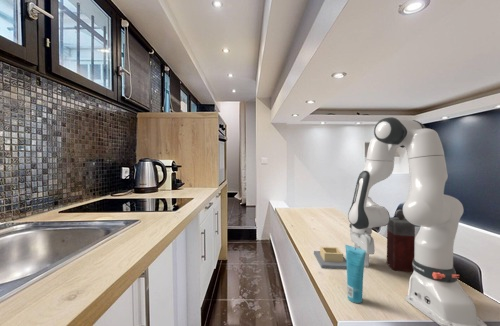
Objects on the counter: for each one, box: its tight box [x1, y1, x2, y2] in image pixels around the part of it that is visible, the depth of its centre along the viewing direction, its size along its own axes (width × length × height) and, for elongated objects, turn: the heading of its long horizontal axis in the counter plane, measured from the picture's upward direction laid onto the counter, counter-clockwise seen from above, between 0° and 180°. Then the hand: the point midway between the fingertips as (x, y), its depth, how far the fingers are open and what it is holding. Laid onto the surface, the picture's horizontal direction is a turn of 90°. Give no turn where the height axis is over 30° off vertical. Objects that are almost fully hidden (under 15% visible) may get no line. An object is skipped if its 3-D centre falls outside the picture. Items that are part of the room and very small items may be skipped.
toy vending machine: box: [386, 209, 416, 273], centre depth 114 cm, size 9×11×28 cm
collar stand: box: [313, 246, 347, 270], centre depth 119 cm, size 18×14×6 cm
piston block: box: [354, 243, 370, 268], centre depth 115 cm, size 5×5×10 cm
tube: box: [344, 244, 366, 304], centre depth 85 cm, size 7×5×19 cm, turn 47°
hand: (361, 256), depth 115 cm, fingers open, 6 cm apart
